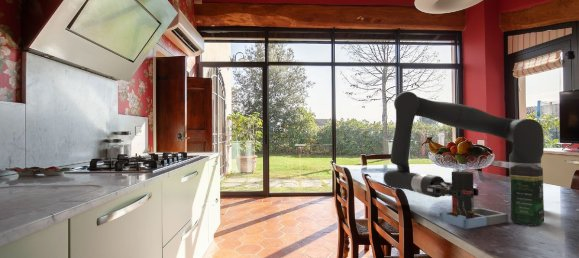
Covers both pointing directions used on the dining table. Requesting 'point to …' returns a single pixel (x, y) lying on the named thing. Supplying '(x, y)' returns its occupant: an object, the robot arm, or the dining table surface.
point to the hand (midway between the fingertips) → (469, 193)
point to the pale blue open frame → (475, 218)
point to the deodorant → (466, 202)
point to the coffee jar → (527, 194)
